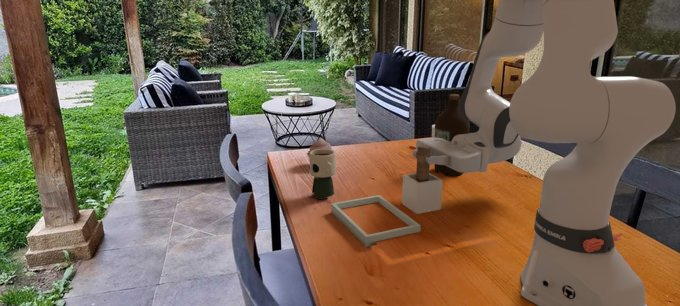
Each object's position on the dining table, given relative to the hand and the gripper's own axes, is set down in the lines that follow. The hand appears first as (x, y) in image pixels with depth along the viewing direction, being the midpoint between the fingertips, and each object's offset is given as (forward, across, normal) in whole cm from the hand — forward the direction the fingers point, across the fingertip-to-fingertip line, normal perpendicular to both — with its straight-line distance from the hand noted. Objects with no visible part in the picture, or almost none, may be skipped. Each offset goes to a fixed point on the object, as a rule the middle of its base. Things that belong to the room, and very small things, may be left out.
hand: (420, 157), depth 114 cm
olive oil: (-26, -22, +15) cm, 37 cm away
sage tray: (+14, +2, +14) cm, 20 cm away
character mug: (+19, -19, +15) cm, 31 cm away
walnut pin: (-1, 0, +14) cm, 14 cm away
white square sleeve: (-1, 0, +14) cm, 15 cm away
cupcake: (+10, -44, +15) cm, 48 cm away
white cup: (-36, -40, +15) cm, 56 cm away
